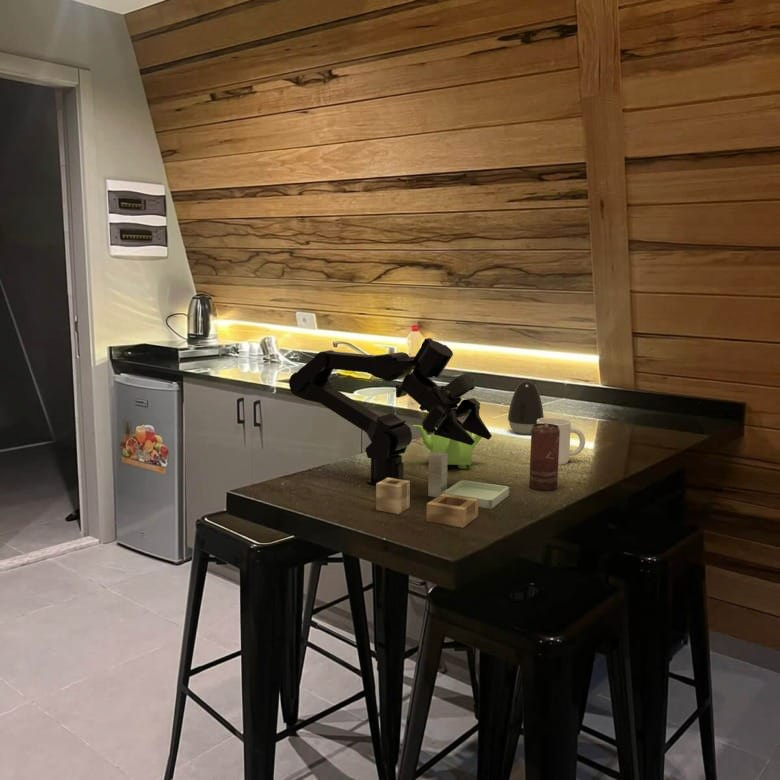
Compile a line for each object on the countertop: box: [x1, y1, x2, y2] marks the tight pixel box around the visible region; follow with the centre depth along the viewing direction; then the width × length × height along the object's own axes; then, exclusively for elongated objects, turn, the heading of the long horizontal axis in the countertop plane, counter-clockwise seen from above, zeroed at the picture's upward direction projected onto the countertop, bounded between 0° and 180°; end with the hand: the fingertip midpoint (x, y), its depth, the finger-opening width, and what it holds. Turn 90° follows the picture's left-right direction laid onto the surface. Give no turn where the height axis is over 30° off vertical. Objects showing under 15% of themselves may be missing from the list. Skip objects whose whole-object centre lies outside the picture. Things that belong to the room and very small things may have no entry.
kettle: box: [411, 424, 483, 470], centre depth 194 cm, size 15×14×11 cm
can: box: [529, 423, 560, 492], centre depth 176 cm, size 6×6×14 cm
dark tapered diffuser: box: [507, 380, 545, 435], centre depth 231 cm, size 10×10×15 cm
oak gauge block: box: [425, 494, 479, 529], centre depth 154 cm, size 8×8×4 cm
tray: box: [442, 479, 511, 510], centre depth 168 cm, size 11×11×2 cm
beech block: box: [375, 478, 411, 515], centre depth 160 cm, size 5×5×6 cm
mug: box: [537, 417, 586, 466], centre depth 198 cm, size 12×8×10 cm
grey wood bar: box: [427, 452, 448, 498], centre depth 169 cm, size 3×3×9 cm
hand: (482, 440), depth 165 cm, fingers open, 9 cm apart
